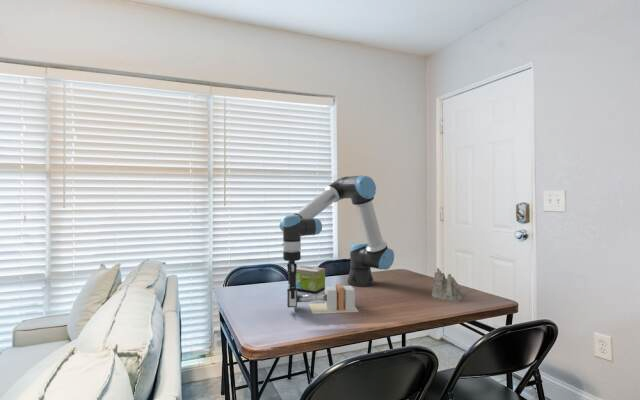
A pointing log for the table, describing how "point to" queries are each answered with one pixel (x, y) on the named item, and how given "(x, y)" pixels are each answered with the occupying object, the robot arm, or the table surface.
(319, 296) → the shaft
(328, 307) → the shaft housing
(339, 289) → the block
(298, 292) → the tea box
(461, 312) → the table surface
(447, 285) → the grey rock formation
